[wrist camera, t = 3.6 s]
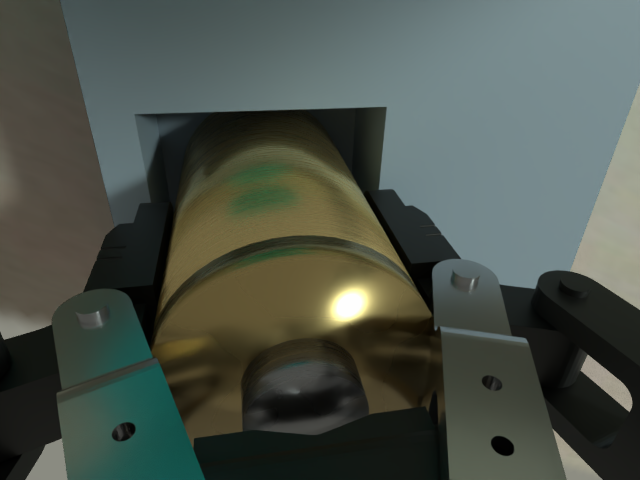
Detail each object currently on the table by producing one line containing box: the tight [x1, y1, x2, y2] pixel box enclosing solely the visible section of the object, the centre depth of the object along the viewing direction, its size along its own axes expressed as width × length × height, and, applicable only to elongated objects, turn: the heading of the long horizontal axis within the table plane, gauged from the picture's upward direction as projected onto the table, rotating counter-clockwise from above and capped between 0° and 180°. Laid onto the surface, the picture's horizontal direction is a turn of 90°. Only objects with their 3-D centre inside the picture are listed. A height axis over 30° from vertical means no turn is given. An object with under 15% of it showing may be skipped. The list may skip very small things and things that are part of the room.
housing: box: [60, 0, 640, 289], centre depth 15 cm, size 10×14×4 cm
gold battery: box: [150, 109, 433, 447], centre depth 11 cm, size 5×5×10 cm
